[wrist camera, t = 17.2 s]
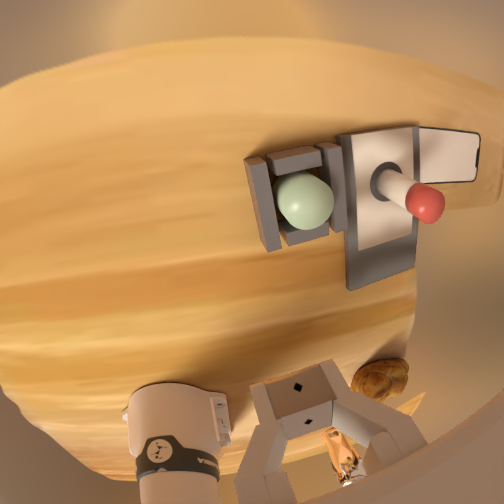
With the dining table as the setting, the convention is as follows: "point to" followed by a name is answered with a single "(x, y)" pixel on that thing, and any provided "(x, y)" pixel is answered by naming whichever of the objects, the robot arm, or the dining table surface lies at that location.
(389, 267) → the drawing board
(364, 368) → the bread roll
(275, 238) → the button base
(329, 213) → the button
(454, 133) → the smartphone
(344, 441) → the beer glass
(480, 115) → the dining table surface
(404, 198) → the marker
